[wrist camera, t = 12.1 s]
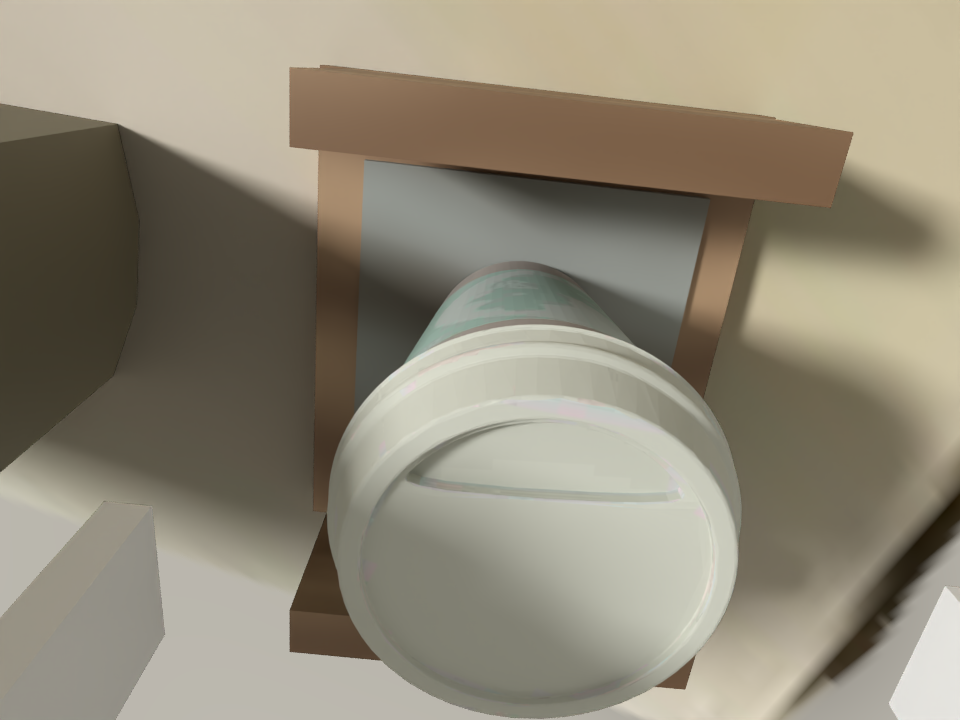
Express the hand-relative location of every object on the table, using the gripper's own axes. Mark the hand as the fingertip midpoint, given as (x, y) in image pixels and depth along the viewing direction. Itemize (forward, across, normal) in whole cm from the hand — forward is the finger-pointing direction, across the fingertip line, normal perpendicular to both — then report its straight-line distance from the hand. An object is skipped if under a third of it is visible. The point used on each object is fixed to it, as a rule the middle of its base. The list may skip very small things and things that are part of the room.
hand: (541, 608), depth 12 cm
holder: (+15, 0, 0) cm, 15 cm away
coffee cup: (+13, 0, 0) cm, 13 cm away
